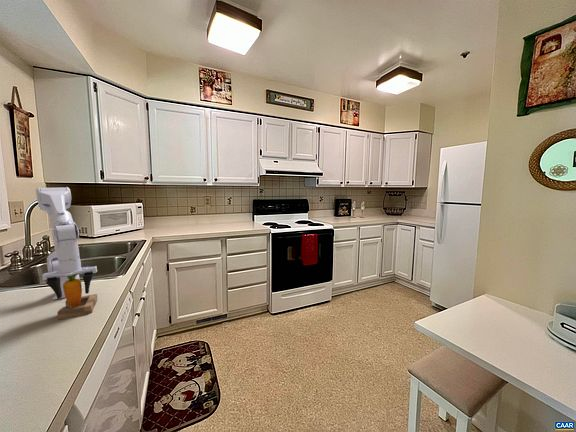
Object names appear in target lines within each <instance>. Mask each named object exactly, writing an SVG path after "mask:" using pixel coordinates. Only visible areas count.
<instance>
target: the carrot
mask: <svg viewBox="0 0 576 432" xmlns="http://www.w3.org/2000/svg"><path fill="white" fill-rule="evenodd" d="M76 275H78V273H77V274H75V275H72V276H67V279H69V280H67V281H66V282H65V283H64V284H63V289H64V294H65V297H66V298H65V301H66V300H67V302H68V304H69V305H70V307H69V308H72V307H77V306H80V305H79V304H80V301H81V297H82V295H83V289H82V286H83V285H82V280H81V279H75V277H76Z"/></svg>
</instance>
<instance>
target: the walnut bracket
mask: <svg viewBox="0 0 576 432" xmlns="http://www.w3.org/2000/svg"><path fill="white" fill-rule="evenodd" d="M98 300H99V299H98V294H97V293H95V294H88V295H84V296H81V301H80V304H79V306H77V307H72V308H71V307H70V305H69V304H68V302H67V300H66V299H65V303H64V304H65V307H66V308H63V309H59V310H58V311H57V320H63V319H64V320H65V319H67V318H72V317H77V316H78V317H79V316H82V315H87V314H93V311H94V309H95V308H96V307H95V306H96V305H97V302H98Z"/></svg>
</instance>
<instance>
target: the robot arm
mask: <svg viewBox="0 0 576 432" xmlns="http://www.w3.org/2000/svg"><path fill="white" fill-rule="evenodd" d="M35 193H36V200H37V203H38V204H37V205H38V207H39V209H40V210H41V211H45V212H46V213H47V215H48V217H49V222H50V230H51V233H52V235H51V236H52V241H53V246H54V247H53V248H54V251H52V252H51V253H50V254H49V255H47V257H46V265H47V271H48V272H44V273H43V274H41V275H42V276H41V278H42V281H46V285H47V286H48V287H50V288H51V290H52V291H53V292H54V294H55V295H54V297H52V300H58V299H59V300H60V299H64V298H65V299H66V297H65V294H64V289H63V284H64V283H65V282H66V281H67V280H69V279H67V276H72V275H75V274H77V273H78V275H76V277H75V279H80V275H82V279H83V283H84V286H83V285H82V290H83V288H84V292H85V295H87V294H89V292H90V285H91V281H92V279H93V277H94V274H97V272H98V268H97V265H95V266H83V267H82V262H81V258H80V250H79V242H78V240H79V239H80V234H79V233H80V231H79V228H78V225H77V224H76V222H74V220H73V216H72V214H71V212H70V211H68V209H69V208H70V207H71V206H72V205H71V204H72V193H71V189H70V188H69V187H68V186H66V187H37V188H36V189H35ZM80 280H81V279H80Z"/></svg>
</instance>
